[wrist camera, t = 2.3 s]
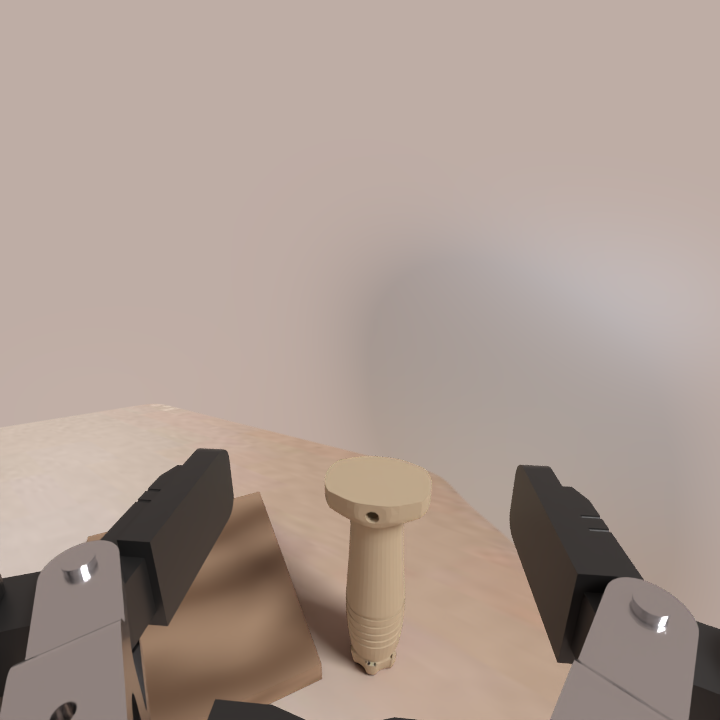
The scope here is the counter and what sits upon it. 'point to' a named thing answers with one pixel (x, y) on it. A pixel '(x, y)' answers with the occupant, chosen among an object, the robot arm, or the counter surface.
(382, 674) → the counter surface
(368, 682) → the counter surface
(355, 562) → the handle
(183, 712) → the walnut board
